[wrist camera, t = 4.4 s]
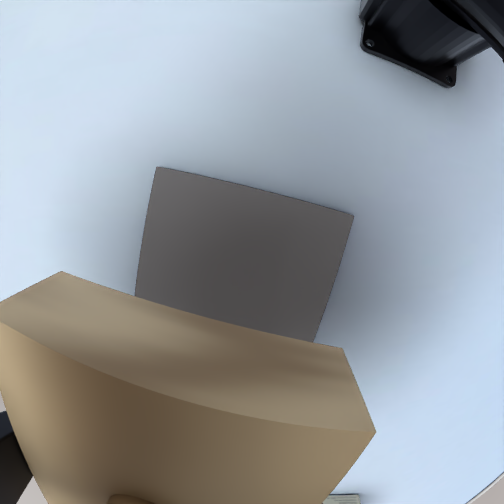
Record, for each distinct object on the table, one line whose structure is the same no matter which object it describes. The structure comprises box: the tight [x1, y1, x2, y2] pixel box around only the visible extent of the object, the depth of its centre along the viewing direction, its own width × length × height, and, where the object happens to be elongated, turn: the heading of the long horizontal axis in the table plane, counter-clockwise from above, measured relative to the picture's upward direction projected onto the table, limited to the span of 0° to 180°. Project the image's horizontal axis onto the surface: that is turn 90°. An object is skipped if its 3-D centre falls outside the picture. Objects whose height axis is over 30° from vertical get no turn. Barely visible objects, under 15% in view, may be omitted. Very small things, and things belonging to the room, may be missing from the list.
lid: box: [0, 271, 376, 504], centre depth 6 cm, size 7×9×3 cm
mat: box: [135, 167, 354, 342], centre depth 17 cm, size 11×12×1 cm
